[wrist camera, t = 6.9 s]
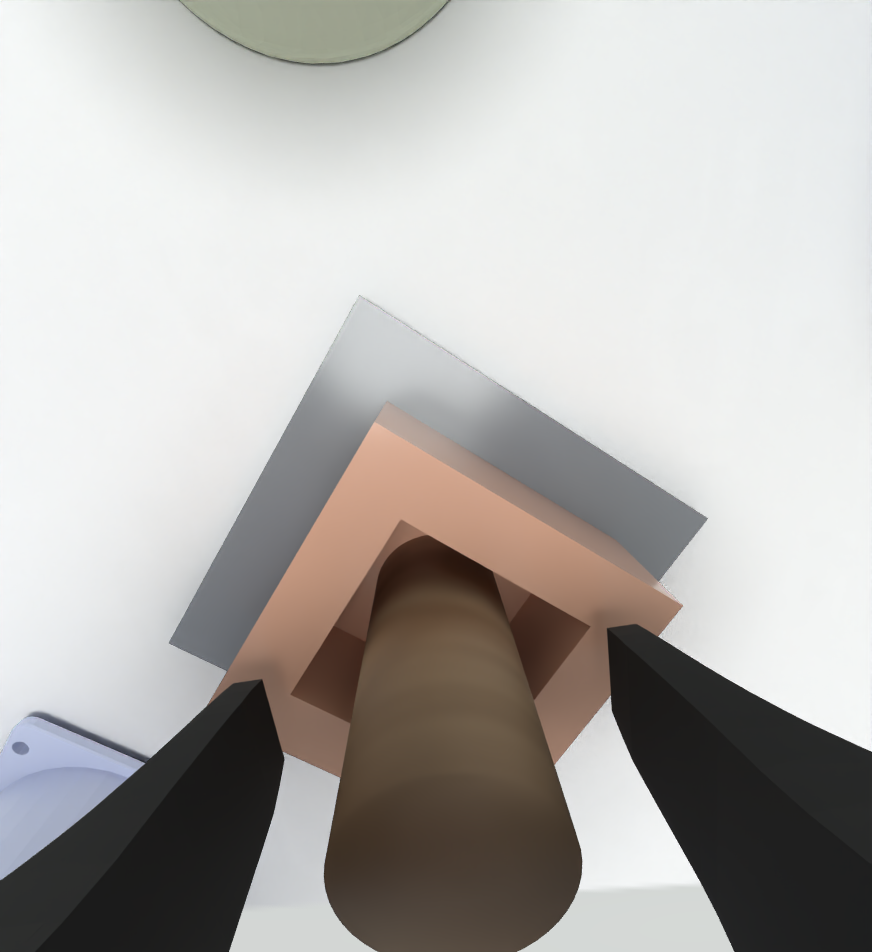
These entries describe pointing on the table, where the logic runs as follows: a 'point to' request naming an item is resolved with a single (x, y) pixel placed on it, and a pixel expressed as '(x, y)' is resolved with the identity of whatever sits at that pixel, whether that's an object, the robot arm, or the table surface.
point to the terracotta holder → (435, 514)
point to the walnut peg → (447, 774)
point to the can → (316, 25)
